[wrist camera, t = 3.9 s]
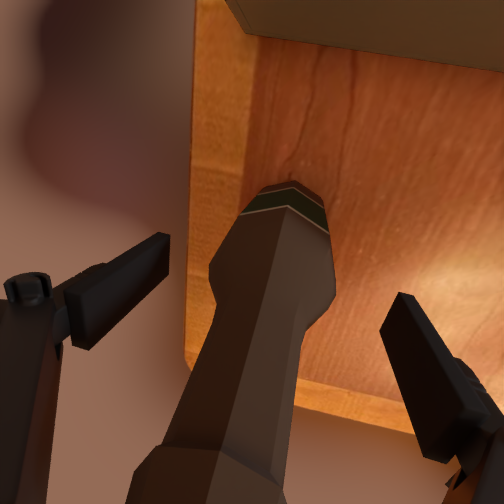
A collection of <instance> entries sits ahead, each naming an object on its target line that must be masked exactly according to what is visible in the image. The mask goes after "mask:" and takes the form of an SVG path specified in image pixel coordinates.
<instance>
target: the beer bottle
mask: <svg viewBox="0 0 504 504" xmlns="http://www.w3.org/2000/svg"><path fill="white" fill-rule="evenodd" d="M209 282H210V285H211V288H212V291H213V294H214V297H215V300H216V303H217V306H216V310H215V314H214V318H213V322H212V325H211V327H210V330H209V332H208V334H207V337H206V339H205V342H204V344H203V346H202V349H201V351H200V353H199V356H198V358H197V361H196V363H195V365H194V368H193V370H192V373H191V375H190V377H189V380H188V382H187V385H186V387H185V389H184V392H183V394H182V396H181V399H180V401H179V404H178V406H177V408H176V411H175V413H174V415H173V418H172V420H171V423H170V425H169V427H168V430H167V432H166V435H165V437H164V439H163V442H162V444H161V445H158V446H156V447H155V448H154V449H153V450H152V451H151V452H150V453H149V455H148V456H147V457H146V458H145V459H144V461H143V462H142V463H141V464H140V465H139V466H138V468H137V469H136V470H135V471H134V474H133V477H132V481H131V484H130V488H129V492H128V495H127V499H126V502H125V504H287V503H286V499H285V496H284V493H283V484H284V476H285V467H286V459H287V452H288V444H289V436H290V428H291V421H292V412H293V405H294V397H295V389H296V382H297V374H298V366H299V358H300V350H301V345H302V341H303V338H304V335H305V332H306V331H307V330H308V329H309V328H310V327H311V326H312V325H313V324H314V323H315V322H316V321H317V320H318V319H319V318H320V317H321V316H322V315H323V314H324V313H325V312H326V311H327V310H328V308H329V307H330V305H331V303H332V301H333V300H334V298H335V296H336V278H335V270H334V263H333V255H332V248H331V240H330V234H329V229H328V224H327V219H326V214H325V209H324V205H323V201H322V199H321V197H319V196H318V195H316V194H315V193H313V192H312V191H310V190H309V189H307V188H306V187H304V186H303V185H302V184H300V183H299V182H297V181H291V182H286V183H282V184H277V185H272V186H267V187H265V188H263V189H262V190H261V191H260V192H259V193H258V195H257V196H256V197H255V198H254V199H253V200H252V201H251V202H250V203H249V205H248V206H247V207H246V208H245V209H244V210H243V211H242V212H241V214H240V215H239V216H238V218H237V219H236V221H235V222H234V224H233V226H232V227H231V229H230V231H229V232H228V234H227V235H226V237H225V239H224V240H223V242H222V244H221V245H220V247H219V249H218V250H217V252H216V253H215V255H214V257H213V258H212V260H211V262H210V264H209Z"/></svg>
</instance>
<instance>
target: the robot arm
mask: <svg viewBox="0 0 504 504" xmlns="http://www.w3.org/2000/svg"><path fill="white" fill-rule="evenodd" d="M169 253H170V235H169V234H165V233H161V232H157V233H156V234H154V235H152V236H151V237H149V238H148V239H146V240H144V241H143V242H141V243H139V244H138V245H136V246H134V247H133V248H131V249H129V250H128V251H126V252H124V253H123V254H121V255H120V256H118V257H116V258H115V259H113V260H112V261H110V262H108V263H100V264H97V265H93V266H91V267H89V268H87V269H86V270H84V271H82V273H81V272H80V273H79V274H77V275H75V277H72V278H70V279H68V280H67V281H65V282H63V283H62V284H60V285H58V286H56V287H55V288H53V289H52V285H51V279H50V276H49V275H47V274H46V273H40V272H29V273H23V274H19V275H16V276H13V277H11V278H10V279H8V280H7V281H6V282H5V283H4V284H3V285H4V288H5V292H6V295H7V299H8V300H3V299H0V504H46V497H47V488H48V479H49V471H50V462H51V453H52V444H53V435H54V426H55V418H56V408H57V400H58V391H59V382H60V373H61V364H62V356H63V342H62V341H63V340H64V339H66V338H67V337H68V336H69V335H70V336H71V341H72V346H75V347H79V348H82V349H85V350H88V351H89V350H90V349H91V348H92V347H93V346H94V345H95V344H96V343H97V342H98V341H100V340H101V338H103V337H104V336H105V335H106V334H107V333H108V332H109V331H110V330H111V329H112V328H113V327H114V326H115V325H116V324H117V323H118V322H119V321H121V320H122V319H123V318H124V317H125V316H126V315H127V314H128V313H129V312H130V311H131V310H132V309H133V308H134V307H135V306H136V305H137V304H138V303H139V302H140V301H141V300H143V298H145V297H146V296H147V295H148V294H149V293H150V292H151V291H152V290H153V289H154V288H155V287H156V286H157V285H158V284H159V283H160V282H161V281H162V280H164V278H166V277H167V276H168V275H169ZM379 332H380V335H381V338H382V341H383V343H384V346H385V349H386V352H387V355H388V358H389V361H390V363H391V366H392V369H393V372H394V375H395V378H396V380H397V383H398V386H399V389H400V392H401V395H402V398H403V400H404V403H405V406H406V409H407V412H408V415H409V417H410V420H411V423H412V426H413V429H414V432H415V435H416V437H417V440H418V443H419V446H420V449H421V452H422V454H423V457H425V458H428V459H431V460H434V461H438V462H440V463H444V464H447V463H448V462H449V461H450V460H451V459H452V458H453V457H454V455H455V454H456V456H457V458H458V460H459V463H460V465H461V468H460V469H459V470H458V471H457V472H456V473H455V474H454V475H453V476H452V477H451V478H450V479H449V481H448V482H447V483H446V484H445V485H446V486H447V487H448V488H449V489H448V491H447V494H446V496H445V498H444V500H443V502H442V504H504V415H503V414H502V412H501V411H500V410H499V408H498V407H497V405H496V404H495V402H494V401H493V399H492V398H491V397H490V395H489V394H488V393H486V389H485V388H484V386H483V385H482V384H481V383H480V381H479V379H478V378H477V376H476V375H475V374H474V372H473V371H472V370H471V369H470V368H469V367H468V366H467V365H466V364H465V363H464V362H463V361H462V360H461V359H459V358H455V357H453V355H452V354H451V352H450V351H449V349H448V348H447V346H446V345H445V343H444V342H443V340H442V339H441V337H440V335H439V334H438V332H437V331H436V329H435V328H434V326H433V325H432V323H431V322H430V320H429V319H428V317H427V315H426V314H425V312H424V311H423V309H422V308H421V306H420V305H419V303H418V302H417V300H416V299H415V297H414V296H413V295H409V294H405V293H401V292H398V294H397V296H396V298H395V300H394V302H393V304H392V306H391V308H390V310H389V312H388V314H387V316H386V318H385V320H384V322H383V324H382V326H381V328H380V330H379Z"/></svg>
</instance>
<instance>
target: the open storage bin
mask: <svg viewBox="0 0 504 504" xmlns="http://www.w3.org/2000/svg"><path fill="white" fill-rule="evenodd" d="M225 1H226V3H227V5H228V6H229V8H230V10H231V11H232V13H233V14H234V16H235V18H236V19H237V21H238V22H239V24H240V26H241V27H242V29H243V30H244V32H245V33H246V34H253V35H259V36H266V37H273V38H279V39H286V40H293V41H299V42H306V43H313V44H319V45H326V46H332V47H339V48H346V49H352V50H359V51H366V52H372V53H379V54H385V55H392V56H399V57H405V58H412V59H419V60H425V61H432V62H438V63H445V64H452V65H458V66H465V67H472V68H478V69H485V70H492V71H498V72H504V0H225Z"/></svg>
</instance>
